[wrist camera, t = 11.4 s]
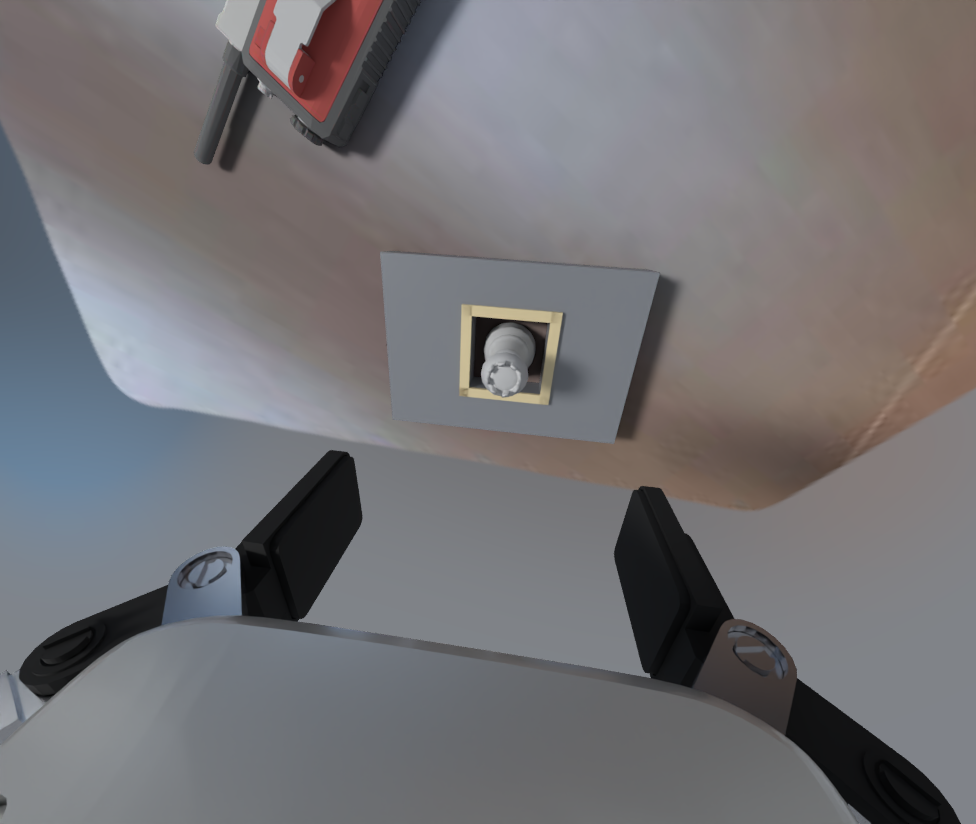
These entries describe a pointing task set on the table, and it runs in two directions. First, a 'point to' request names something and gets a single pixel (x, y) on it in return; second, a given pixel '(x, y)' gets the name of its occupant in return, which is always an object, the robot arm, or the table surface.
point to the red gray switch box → (306, 61)
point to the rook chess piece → (507, 359)
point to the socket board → (517, 296)
